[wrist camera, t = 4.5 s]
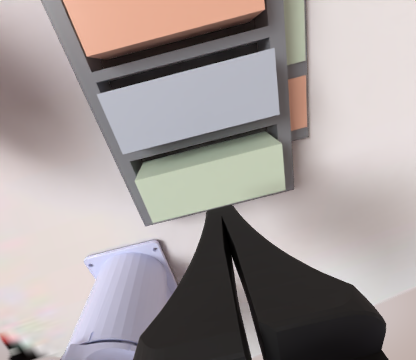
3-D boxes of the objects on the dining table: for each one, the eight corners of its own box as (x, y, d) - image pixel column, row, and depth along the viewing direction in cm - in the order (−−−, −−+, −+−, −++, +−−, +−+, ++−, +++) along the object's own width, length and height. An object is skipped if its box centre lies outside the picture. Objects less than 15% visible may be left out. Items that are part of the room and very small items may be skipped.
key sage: (269, 171, 19) (285, 190, 16) (158, 199, 19) (152, 223, 16) (265, 131, 17) (282, 143, 14) (143, 162, 17) (134, 181, 14)
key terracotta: (248, 22, 15) (265, 9, 12) (106, 59, 15) (86, 56, 12) (240, -49, 13) (256, -85, 10) (81, -6, 13) (50, -29, 10)
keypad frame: (282, 176, 21) (294, 189, 19) (149, 209, 21) (145, 226, 19) (259, -90, 13) (276, -125, 11) (46, -31, 13) (16, -54, 11)
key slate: (262, 106, 16) (279, 114, 13) (134, 139, 17) (122, 154, 14) (256, 52, 15) (274, 47, 12) (114, 89, 15) (96, 94, 12)
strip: (305, 135, 19) (309, 137, 19) (283, 141, 19) (286, 143, 19) (301, -24, 14) (306, -29, 14) (271, -16, 14) (275, -20, 14)
